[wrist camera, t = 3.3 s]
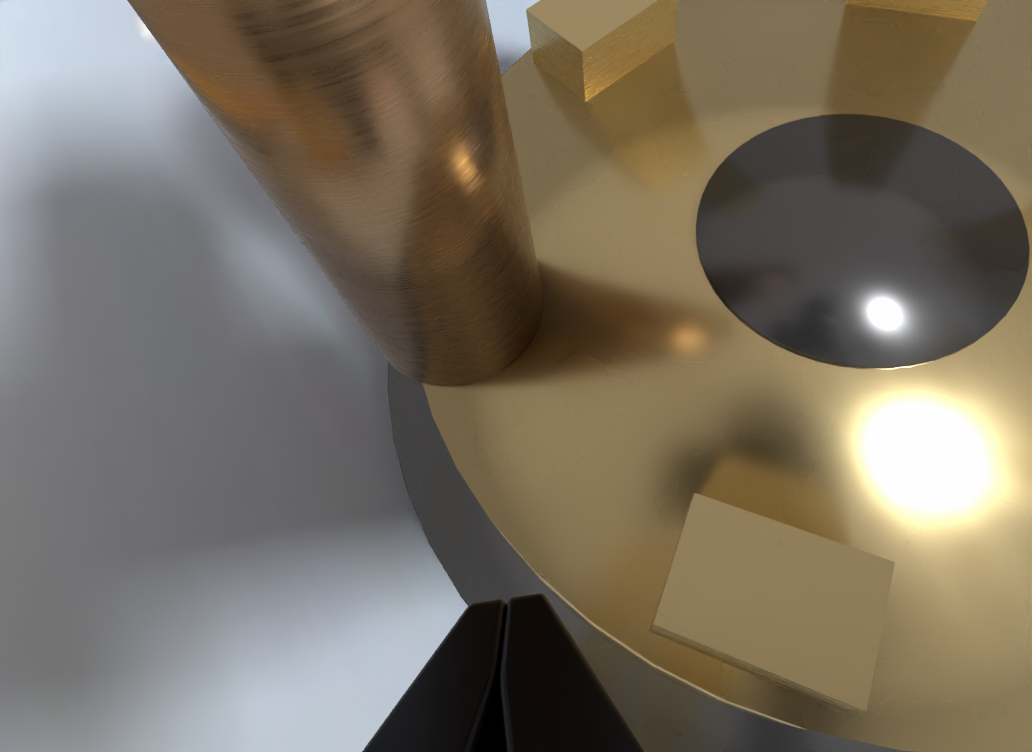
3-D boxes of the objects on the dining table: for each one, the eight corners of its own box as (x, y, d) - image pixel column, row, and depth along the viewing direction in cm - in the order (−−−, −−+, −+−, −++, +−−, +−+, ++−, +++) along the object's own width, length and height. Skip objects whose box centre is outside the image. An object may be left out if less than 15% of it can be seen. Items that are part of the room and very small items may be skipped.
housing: (1085, 1141, 11) (1153, 1207, 9) (198, 391, 19) (166, 369, 18) (1413, 232, 16) (1486, 190, 15) (608, -36, 24) (607, -78, 23)
